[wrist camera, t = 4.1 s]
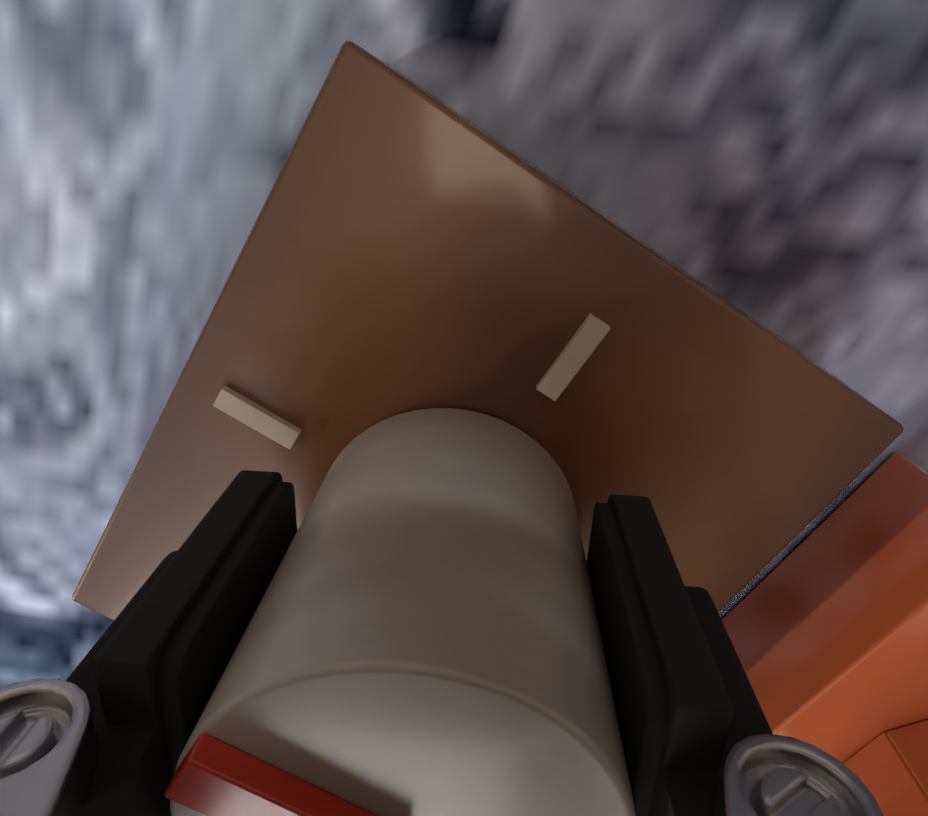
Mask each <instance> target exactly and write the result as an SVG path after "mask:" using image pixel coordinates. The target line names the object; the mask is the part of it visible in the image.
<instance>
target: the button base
mask: <svg viewBox="0 0 928 816" xmlns="http://www.w3.org/2000/svg"><path fill="white" fill-rule="evenodd" d="M722 622H723V624H724V626H725V629H726V631H727V633H728V635H729V637H730V640H731V642H732V644H733V646H734V649H735V651H736V653H737V655H738V657H739V660H740V662H741V664H742V666H743V668H744V671H745V673H746V675H747V677H748V680H749V682H750V684H751V686H752V688H753V691H754V693H755V695H756V697H757V699H758V702H759V704H760V706H761V708H762V711H763V713H764V715H765V717H766V719H767V722H768V724H769V726H770V728H771V730H772V733H773V734H775V735H782V736H789V737H793V738H796V739H798V740H801V741H804V742H807V743H809V744H812V745H815V746H816V747H818V748H820V749H821V750H823V751H825V752H827V753H828V754H830V755H832V756H833V757H835V758H837V759H838V760H839V761H840V762H842V763H843V764H844V765H845V766H846V767H847V768H849V769H850V770H851V771H852V772H853V773H855V774H856V775H857V776H858V777H859V778H860V780H861V781H862V782H863V783H864V785H865V786H866V787H867V788H868V789H869V791H870V792H871V793H872V794H873V796H874V797H875V799H876V801H877V803H878V805H879V807H880V809H881V811H882V813H883V816H928V472H927V471H925V470H924V469H922V468H921V467H919V466H918V465H917V464H915V463H914V462H912V461H911V460H909V459H908V458H906V457H905V456H903V455H902V454H900V453H894V454H893V455H892V456H891V457H890V458H889V459H888V460H887V461H886V462H885V463H883V464H882V465H881V466H880V467H879V468H878V469H877V470H876V471H875V472H874V473H873V474H872V475H871V476H870V477H869V478H868V479H867V480H866V481H865V482H864V483H863V484H862V485H861V486H860V487H859V488H858V489H857V490H856V491H855V492H854V493H853V494H852V495H850V496H849V497H848V498H847V499H846V500H845V501H844V502H843V503H842V504H841V505H840V506H839V507H838V508H837V509H836V510H835V511H834V512H833V513H832V514H831V515H830V516H829V517H828V518H827V519H826V520H825V521H824V522H823V523H822V524H821V525H820V526H818V527H817V528H816V529H815V530H814V531H813V532H812V533H811V534H810V535H809V536H808V537H807V538H806V539H805V540H804V541H803V542H802V543H801V544H800V545H799V546H798V547H797V548H796V549H795V550H794V551H793V552H792V553H791V554H790V555H789V556H788V557H786V558H785V559H784V560H783V561H782V562H781V563H780V564H779V565H778V566H777V567H776V568H775V569H774V570H773V571H772V572H771V573H770V574H769V575H768V576H767V577H766V578H765V579H764V580H763V581H762V582H761V583H760V584H759V585H758V586H757V587H756V588H755V589H753V590H752V591H751V592H750V593H749V594H748V595H747V596H746V597H745V598H744V599H743V600H742V601H741V602H740V603H739V604H738V605H737V606H736V607H735V608H734V609H733V610H732V611H731V612H730V613H729V614H728V615H727V616H726V617H725V618H724V619H723V620H722Z"/></svg>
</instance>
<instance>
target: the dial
mask: <svg viewBox="0 0 928 816" xmlns="http://www.w3.org/2000/svg"><path fill="white" fill-rule="evenodd" d="M165 797H166V798H168V799H170V810H171V816H637V815H636V810H635V805H634V800H633V795H632V790H631V785H630V779H629V774H628V769H627V764H626V759H625V754H624V749H623V744H622V739H621V734H620V729H619V724H618V719H617V714H616V708H615V703H614V698H613V693H612V688H611V683H610V678H609V673H608V668H607V663H606V658H605V653H604V648H603V643H602V638H601V632H600V627H599V622H598V617H597V612H596V607H595V602H594V597H593V592H592V587H591V582H590V577H589V572H588V567H587V561H586V556H585V551H584V546H583V541H582V536H581V531H580V526H579V521H578V516H577V511H576V506H575V502H574V498H573V494H572V491H571V489H570V487H569V484H568V482H567V480H566V478H565V476H564V474H563V473H562V471H561V469H560V468H559V466H558V464H557V463H556V462H555V461H554V460H553V458H552V457H551V456H550V455H549V453H548V452H547V451H546V450H545V449H544V448H543V447H542V446H540V445H539V444H538V443H537V442H536V441H535V440H534V439H532V438H531V437H530V436H528V435H527V434H525V433H524V432H523V431H521V430H520V429H518V428H516V427H514V426H512V425H510V424H508V423H506V422H505V421H502V420H499V419H497V418H494V417H492V416H489V415H486V414H482V413H478V412H474V411H470V410H462V409H454V408H430V409H422V410H414V411H410V412H406V413H402V414H398V415H396V416H393V417H390V418H388V419H385V420H383V421H381V422H379V423H377V424H375V425H373V426H372V427H370V428H368V429H366V430H365V431H364V432H362V433H361V434H360V435H358V436H357V437H356V438H354V439H353V440H352V441H351V442H350V443H349V444H348V445H347V446H346V447H345V448H344V449H343V450H342V451H341V453H340V454H339V455H338V457H337V458H336V459H335V461H334V462H333V464H332V466H331V468H330V469H329V471H328V473H327V475H326V477H325V479H324V481H323V483H322V485H321V487H320V488H319V490H318V492H317V494H316V496H315V498H314V500H313V502H312V504H311V506H310V508H309V510H308V511H307V513H306V515H305V517H304V519H303V521H302V523H301V525H300V527H299V529H298V531H297V533H296V534H295V536H294V538H293V540H292V542H291V544H290V546H289V548H288V550H287V552H286V554H285V556H284V557H283V559H282V561H281V563H280V565H279V567H278V569H277V571H276V573H275V575H274V577H273V579H272V580H271V582H270V584H269V586H268V588H267V590H266V592H265V594H264V596H263V598H262V600H261V602H260V603H259V605H258V607H257V609H256V611H255V613H254V615H253V617H252V619H251V621H250V623H249V625H248V626H247V628H246V630H245V632H244V634H243V636H242V638H241V640H240V642H239V644H238V646H237V648H236V649H235V651H234V653H233V655H232V657H231V659H230V661H229V663H228V665H227V667H226V669H225V671H224V672H223V674H222V676H221V678H220V680H219V682H218V684H217V686H216V688H215V690H214V692H213V694H212V695H211V697H210V699H209V701H208V703H207V705H206V707H205V709H204V711H203V713H202V715H201V717H200V718H199V720H198V722H197V724H196V726H195V728H194V730H193V732H192V734H191V736H190V738H189V740H188V741H187V743H186V745H185V747H184V749H183V751H182V753H181V755H180V757H179V759H178V762H177V766H176V769H175V772H174V775H173V777H172V779H171V781H170V783H169V785H168V787H167V789H166V791H165Z"/></svg>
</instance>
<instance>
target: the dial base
mask: <svg viewBox="0 0 928 816" xmlns="http://www.w3.org/2000/svg"><path fill="white" fill-rule="evenodd" d="M430 408H454V409H462V410H470V411H474V412H478V413H482V414H486V415H489V416H492V417H494V418H497V419H499V420H502V421H505V422H506V423H508V424H510V425H512V426H514V427H516V428H518V429H520V430H521V431H523V432H524V433H525V434H527V435H528V436H530V437H531V438H532V439H534V440H535V441H536V442H537V443H538V444H539V445H540V446H542V447H543V448H544V449H545V450H546V451H547V452H548V453H549V455H550V456H551V457H552V458H553V460H554V461H555V462H556V463H557V464H558V466H559V468H560V469H561V471H562V473H563V474H564V476H565V478H566V480H567V482H568V484H569V487H570V489H571V491H572V494H573V498H574V502H575V506H576V511H577V516H578V521H579V526H580V531H581V536H582V541H583V546H584V551H585V556H586V561H587V555H588V548H589V540H590V533H591V526H592V519H593V512H594V507H595V504H596V503H607V501H608V498H609V496H610V494H617V495H633V496H646V497H649V499H650V501H651V503H652V506H653V508H654V511H655V513H656V516H657V518H658V521H659V523H660V526H661V528H662V531H663V533H664V536H665V538H666V541H667V543H668V546H669V548H670V550H671V553H672V555H673V558H674V560H675V563H676V565H677V568H678V570H679V573H680V575H681V578H682V580H683V583H684V585H685V586H693V587H703V588H704V589H706V590H707V591H708V593H709V594H710V596H711V598H712V600H713V602H714V604H715V607H716V609H717V611H718V612H719V611H720V610H721V609H722V608H723V607H724V606H725V605H726V604H727V603H728V602H729V601H730V600H731V599H732V598H733V597H734V596H735V595H736V594H737V593H738V592H739V591H740V590H741V589H742V588H743V587H744V586H745V585H746V584H747V583H748V582H749V581H750V580H751V579H752V578H753V577H754V576H755V575H756V574H758V573H759V572H760V571H761V570H762V569H763V568H764V567H765V566H766V565H767V564H768V563H769V562H770V561H771V560H772V559H773V558H774V557H775V556H776V555H777V554H778V553H779V552H780V551H781V550H782V549H783V548H784V547H785V546H786V545H787V544H788V543H789V542H790V541H791V540H792V539H793V538H794V537H795V536H796V535H797V534H798V533H799V532H800V531H801V530H802V529H804V528H805V527H806V526H807V525H808V524H809V523H810V522H811V521H812V520H813V519H814V518H815V517H816V516H817V515H818V514H819V513H820V512H821V511H822V510H823V509H824V508H825V507H826V506H827V505H828V504H829V503H830V502H831V501H832V500H833V499H834V498H835V497H836V496H837V495H838V494H839V493H840V492H841V491H842V490H843V489H844V488H845V487H846V486H847V485H848V484H850V483H851V482H852V481H853V480H854V479H855V478H856V477H857V476H858V475H859V474H860V473H861V472H862V471H863V470H864V469H865V468H866V467H867V466H868V465H869V464H870V463H871V462H872V461H873V460H874V459H875V458H876V457H877V456H878V455H879V454H880V453H881V452H882V451H883V450H884V449H885V448H886V447H887V446H888V445H889V444H890V443H891V442H892V441H893V440H894V439H895V438H897V437H898V436H899V435H900V434H901V433H902V431H903V427H902V425H901V424H900V423H899V422H897V421H896V420H895V419H893V418H892V417H891V416H889V415H888V414H886V413H885V412H884V411H882V410H881V409H879V408H878V407H877V406H875V405H874V404H872V403H871V402H870V401H868V400H867V399H866V398H864V397H863V396H861V395H860V394H859V393H857V392H856V391H854V390H853V389H852V388H850V387H849V386H847V385H846V384H845V383H843V382H842V381H841V380H839V379H838V378H836V377H835V376H834V375H832V374H831V373H829V372H828V371H827V370H825V369H824V368H823V367H821V366H820V365H818V364H817V363H815V362H814V361H813V360H811V359H810V358H808V357H807V356H805V355H804V354H803V353H801V352H800V351H798V350H797V349H795V348H794V347H792V346H791V345H790V344H788V343H787V342H785V341H784V340H782V339H781V338H780V337H778V336H777V335H775V334H774V333H772V332H771V331H770V330H768V329H767V328H765V327H764V326H762V325H761V324H759V323H758V322H757V321H755V320H754V319H752V318H751V317H749V316H748V315H747V314H745V313H744V312H742V311H741V310H739V309H738V308H737V307H735V306H734V305H732V304H731V303H729V302H728V301H726V300H725V299H724V298H722V297H721V296H719V295H718V294H716V293H715V292H714V291H712V290H711V289H709V288H708V287H706V286H705V285H704V284H702V283H701V282H699V281H698V280H696V279H695V278H693V277H692V276H691V275H689V274H688V273H686V272H685V271H683V270H682V269H681V268H679V267H678V266H676V265H675V264H673V263H672V262H671V261H669V260H668V259H666V258H665V257H663V256H662V255H660V254H659V253H658V252H656V251H655V250H653V249H652V248H650V247H649V246H648V245H646V244H645V243H643V242H642V241H640V240H639V239H638V238H636V237H635V236H633V235H632V234H630V233H629V232H627V231H626V230H625V229H623V228H622V227H620V226H619V225H617V224H616V223H615V222H613V221H612V220H610V219H609V218H607V217H606V216H605V215H603V214H602V213H600V212H599V211H597V210H596V209H595V208H593V207H592V206H590V205H589V204H587V203H586V202H584V201H583V200H582V199H580V198H579V197H577V196H576V195H574V194H573V193H572V192H570V191H569V190H567V189H566V188H564V187H563V186H562V185H560V184H559V183H557V182H556V181H554V180H553V179H551V178H550V177H549V176H547V175H546V174H544V173H543V172H541V171H540V170H539V169H537V168H536V167H534V166H533V165H531V164H530V163H529V162H527V161H526V160H524V159H523V158H521V157H520V156H518V155H517V154H516V153H514V152H513V151H511V150H510V149H508V148H507V147H506V146H504V145H503V144H501V143H500V142H498V141H497V140H496V139H494V138H493V137H491V136H490V135H488V134H487V133H485V132H484V131H483V130H481V129H480V128H478V127H477V126H475V125H474V124H473V123H471V122H470V121H468V120H467V119H465V118H464V117H463V116H461V115H460V114H458V113H457V112H455V111H454V110H452V109H451V108H450V107H448V106H447V105H445V104H444V103H442V102H441V101H440V100H438V99H437V98H435V97H434V96H432V95H431V94H430V93H428V92H427V91H425V90H424V89H422V88H421V87H419V86H418V85H417V84H415V83H414V82H412V81H411V80H409V79H408V78H407V77H405V76H404V75H402V74H401V73H399V72H398V71H397V70H395V69H394V68H392V67H391V66H389V65H388V64H386V63H385V62H383V61H382V60H380V59H379V58H377V57H375V56H374V55H372V54H371V53H369V52H367V51H366V50H364V49H363V48H361V47H360V46H358V45H356V44H355V43H353V42H351V41H346V42H345V43H344V44H343V45H342V47H341V49H340V51H339V53H338V55H337V57H336V59H335V61H334V63H333V65H332V67H331V69H330V71H329V73H328V76H327V78H326V80H325V82H324V84H323V86H322V88H321V90H320V92H319V94H318V96H317V98H316V100H315V102H314V104H313V106H312V108H311V110H310V112H309V114H308V116H307V118H306V120H305V122H304V124H303V126H302V129H301V131H300V133H299V135H298V137H297V139H296V141H295V143H294V145H293V147H292V149H291V151H290V153H289V155H288V157H287V159H286V161H285V163H284V165H283V167H282V169H281V171H280V173H279V175H278V177H277V180H276V182H275V184H274V186H273V188H272V190H271V192H270V194H269V196H268V198H267V200H266V202H265V204H264V206H263V208H262V210H261V212H260V214H259V216H258V218H257V220H256V222H255V224H254V226H253V228H252V231H251V233H250V235H249V237H248V239H247V241H246V243H245V245H244V247H243V249H242V251H241V253H240V255H239V257H238V259H237V261H236V263H235V265H234V267H233V269H232V271H231V273H230V275H229V277H228V279H227V281H226V284H225V286H224V288H223V290H222V292H221V294H220V296H219V298H218V300H217V302H216V304H215V306H214V308H213V310H212V312H211V314H210V316H209V318H208V320H207V322H206V324H205V326H204V328H203V330H202V332H201V335H200V337H199V339H198V341H197V343H196V345H195V347H194V349H193V351H192V353H191V355H190V357H189V359H188V361H187V363H186V365H185V367H184V369H183V371H182V373H181V375H180V377H179V379H178V381H177V383H176V386H175V388H174V390H173V392H172V394H171V396H170V398H169V400H168V402H167V404H166V406H165V408H164V410H163V412H162V414H161V416H160V418H159V420H158V422H157V424H156V426H155V428H154V430H153V432H152V434H151V436H150V439H149V441H148V443H147V445H146V447H145V449H144V451H143V453H142V455H141V457H140V459H139V461H138V463H137V465H136V467H135V469H134V471H133V473H132V475H131V477H130V479H129V481H128V483H127V485H126V487H125V490H124V492H123V494H122V496H121V498H120V500H119V502H118V504H117V506H116V508H115V510H114V512H113V514H112V516H111V518H110V520H109V522H108V524H107V526H106V528H105V530H104V532H103V534H102V536H101V538H100V541H99V543H98V545H97V547H96V549H95V551H94V553H93V555H92V557H91V559H90V561H89V563H88V565H87V567H86V569H85V571H84V573H83V575H82V577H81V579H80V581H79V583H78V585H77V587H76V589H75V591H74V594H73V597H72V599H73V600H74V601H75V602H77V603H79V604H81V605H83V606H85V607H87V608H89V609H91V610H93V611H95V612H97V613H99V614H102V615H104V616H106V617H108V618H110V619H112V620H115V619H116V618H117V616H118V615H119V614H120V613H121V612H122V610H123V609H124V608H125V607H126V605H127V604H128V603H129V602H130V600H131V599H132V598H133V597H134V595H135V594H136V593H137V592H138V590H139V589H140V588H141V587H142V585H143V584H144V583H145V582H146V580H147V579H148V578H149V577H150V575H151V574H152V573H153V572H154V570H155V569H156V568H157V567H158V565H159V564H160V563H161V562H162V560H163V559H164V558H165V557H166V556H167V555H168V554H169V553H171V552H173V551H177V550H179V548H180V547H181V546H182V545H183V543H184V542H185V541H186V539H187V538H188V537H189V536H190V534H191V533H192V532H193V531H194V529H195V528H196V527H197V525H198V524H199V523H200V522H201V520H202V519H203V518H204V517H205V515H206V514H207V513H208V511H209V510H210V509H211V508H212V506H213V505H214V504H215V503H216V501H217V500H218V499H219V497H220V496H221V495H222V494H223V492H224V491H225V490H226V489H227V487H228V486H229V485H230V483H231V482H232V481H233V480H234V478H235V477H236V476H237V475H238V473H239V472H240V471H242V470H251V471H267V472H279V473H280V474H281V475H282V478H283V482H291V483H292V484H293V486H294V491H295V505H296V520H297V531H298V529H299V527H300V525H301V523H302V521H303V519H304V517H305V515H306V513H307V511H308V510H309V508H310V506H311V504H312V502H313V500H314V498H315V496H316V494H317V492H318V490H319V488H320V487H321V485H322V483H323V481H324V479H325V477H326V475H327V473H328V471H329V469H330V468H331V466H332V464H333V462H334V461H335V459H336V458H337V457H338V455H339V454H340V453H341V451H342V450H343V449H344V448H345V447H346V446H347V445H348V444H349V443H350V442H351V441H352V440H353V439H354V438H356V437H357V436H358V435H360V434H361V433H362V432H364V431H365V430H366V429H368V428H370V427H372V426H373V425H375V424H377V423H379V422H381V421H383V420H385V419H388V418H390V417H393V416H396V415H398V414H402V413H406V412H410V411H414V410H422V409H430Z"/></svg>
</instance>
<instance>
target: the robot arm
mask: <svg viewBox="0 0 928 816" xmlns="http://www.w3.org/2000/svg"><path fill="white" fill-rule="evenodd" d="M296 533H297V520H296V505H295V491H294V486H293V484H292V483H291V482H283V478H282V475H281V474H280V473H279V472H267V471H251V470H242V471H240V472H239V473H238V475H237V476H236V477H235V478H234V480H233V481H232V482H231V483H230V485H229V486H228V487H227V489H226V490H225V491H224V492H223V494H222V495H221V496H220V497H219V499H218V500H217V501H216V503H215V504H214V505H213V506H212V508H211V509H210V510H209V511H208V513H207V514H206V515H205V517H204V518H203V519H202V520H201V522H200V523H199V524H198V525H197V527H196V528H195V529H194V531H193V532H192V533H191V534H190V536H189V537H188V538H187V539H186V541H185V542H184V543H183V545H182V546H181V547H180V548H179V550H177V551H173V552H171V553H169V554H168V555H167V556H166V557H165V558H164V559H163V560H162V562H161V563H160V564H159V565H158V567H157V568H156V569H155V570H154V572H153V573H152V574H151V575H150V577H149V578H148V579H147V580H146V582H145V583H144V584H143V585H142V587H141V588H140V589H139V590H138V592H137V593H136V594H135V595H134V597H133V598H132V599H131V600H130V602H129V603H128V604H127V605H126V607H125V608H124V609H123V610H122V612H121V613H120V614H119V615H118V616H117V618H116V619H115V620H114V621H113V623H112V624H111V625H110V626H109V628H108V629H107V630H106V631H105V633H104V634H103V635H102V636H101V638H100V639H99V640H98V641H97V643H96V644H95V645H94V646H93V648H92V649H91V650H90V651H89V653H88V654H87V655H86V656H85V658H84V659H83V660H82V661H81V663H80V664H79V665H78V666H77V668H76V669H75V670H74V671H73V673H72V674H71V675H70V676H69V677H68V679H67V680H66V681H64V680H61V679H39V678H38V679H33V680H28V681H22V682H17V683H13V684H11V685H8V686H5V687H2V688H0V816H171V810H170V799H168V798H166V797H165V791H166V789H167V787H168V785H169V783H170V781H171V779H172V777H173V775H174V772H175V769H176V766H177V762H178V759H179V757H180V755H181V753H182V751H183V749H184V747H185V745H186V743H187V741H188V740H189V738H190V736H191V734H192V732H193V730H194V728H195V726H196V724H197V722H198V720H199V718H200V717H201V715H202V713H203V711H204V709H205V707H206V705H207V703H208V701H209V699H210V697H211V695H212V694H213V692H214V690H215V688H216V686H217V684H218V682H219V680H220V678H221V676H222V674H223V672H224V671H225V669H226V667H227V665H228V663H229V661H230V659H231V657H232V655H233V653H234V651H235V649H236V648H237V646H238V644H239V642H240V640H241V638H242V636H243V634H244V632H245V630H246V628H247V626H248V625H249V623H250V621H251V619H252V617H253V615H254V613H255V611H256V609H257V607H258V605H259V603H260V602H261V600H262V598H263V596H264V594H265V592H266V590H267V588H268V586H269V584H270V582H271V580H272V579H273V577H274V575H275V573H276V571H277V569H278V567H279V565H280V563H281V561H282V559H283V557H284V556H285V554H286V552H287V550H288V548H289V546H290V544H291V542H292V540H293V538H294V536H295V534H296ZM587 567H588V572H589V577H590V582H591V587H592V592H593V597H594V602H595V607H596V612H597V617H598V622H599V627H600V632H601V638H602V643H603V648H604V653H605V658H606V663H607V668H608V673H609V678H610V683H611V688H612V693H613V698H614V703H615V708H616V714H617V719H618V724H619V729H620V734H621V739H622V744H623V749H624V754H625V759H626V764H627V769H628V774H629V779H630V785H631V790H632V795H633V800H634V805H635V810H636V815H637V816H883V813H882V811H881V809H880V807H879V805H878V803H877V801H876V799H875V797H874V796H873V794H872V793H871V792H870V791H869V789H868V788H867V787H866V786H865V785H864V783H863V782H862V781H861V780H860V778H859V777H858V776H857V775H856V774H855V773H853V772H852V771H851V770H850V769H849V768H847V767H846V766H845V765H844V764H843V763H842V762H840V761H839V760H838V759H837V758H835V757H833V756H832V755H830V754H828V753H827V752H825V751H823V750H821V749H820V748H818V747H816V746H815V745H812V744H809V743H807V742H804V741H801V740H798V739H796V738H793V737H789V736H782V735H775V734H773V733H772V730H771V728H770V726H769V724H768V722H767V719H766V717H765V715H764V713H763V711H762V708H761V706H760V704H759V702H758V699H757V697H756V695H755V693H754V691H753V688H752V686H751V684H750V682H749V680H748V677H747V675H746V673H745V671H744V668H743V666H742V664H741V662H740V660H739V657H738V655H737V653H736V651H735V649H734V646H733V644H732V642H731V640H730V637H729V635H728V633H727V631H726V629H725V626H724V624H723V622H722V620H721V618H720V615H719V613H718V611H717V609H716V607H715V604H714V602H713V600H712V598H711V596H710V594H709V593H708V591H707V590H706V589H704V588H703V587H693V586H685V585H684V583H683V580H682V578H681V575H680V573H679V570H678V568H677V565H676V563H675V560H674V558H673V555H672V553H671V550H670V548H669V546H668V543H667V541H666V538H665V536H664V533H663V531H662V528H661V526H660V523H659V521H658V518H657V516H656V513H655V511H654V508H653V506H652V503H651V501H650V499H649V497H646V496H633V495H617V494H610V496H609V498H608V501H607V503H596V504H595V507H594V512H593V519H592V526H591V533H590V540H589V548H588V555H587Z"/></svg>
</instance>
